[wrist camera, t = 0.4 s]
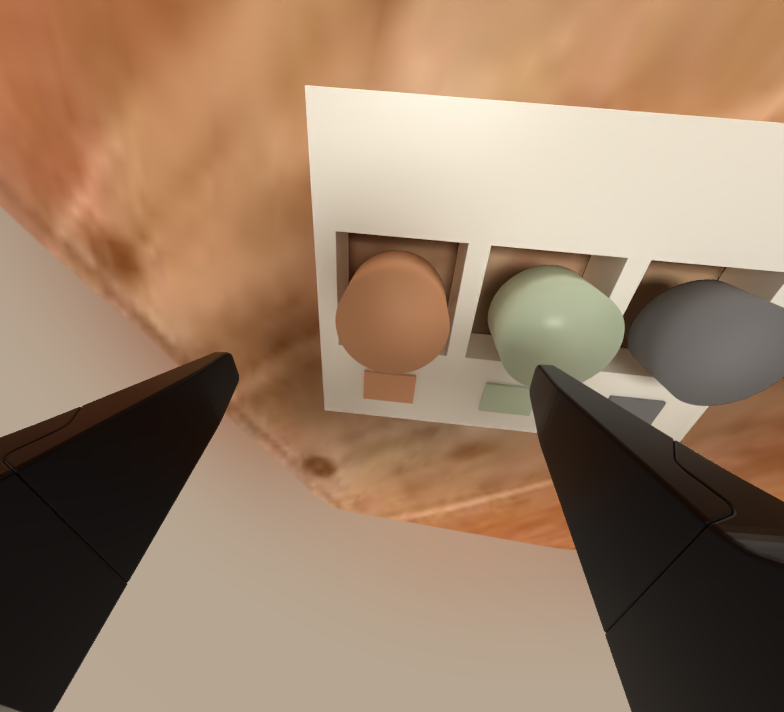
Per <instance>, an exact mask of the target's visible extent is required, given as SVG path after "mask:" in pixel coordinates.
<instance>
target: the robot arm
mask: <svg viewBox="0 0 784 712" xmlns="http://www.w3.org/2000/svg"><path fill="white" fill-rule="evenodd" d="M238 381H239V374H238V371H237V368H236V365H235V362H234V359H233V356H232V355H231V354H230V353H228V352H215V353H212V354H210V355H207V356H205V357H202V358H200V359H197V360H195V361H192V362H190V363H187V364H185V365H182V366H180V367H177V368H175V369H172V370H170V371H168V372H165V373H163V374H160V375H158V376H155V377H153V378H150V379H148V380H145V381H143V382H140V383H138V384H135V385H133V386H130V387H128V388H126V389H123V390H120V391H118V392H115V393H113V394H110V395H108V396H105V397H103V398H101V399H98V400H96V401H93V402H91V403H88V404H86V405H84V406H82V407H78V408H76V409H73V410H71V411H68V412H66V413H63V414H61V415H58V416H56V417H53V418H51V419H48V420H45V421H43V422H40V423H38V424H35V425H33V426H30V427H27V428H24V429H22V430H19V431H16V432H14V433H11V434H8V435H6V436H3V437H0V712H53V711H54V710H55V708H56V706H57V705H58V703H59V701H60V700H61V698H62V696H63V695H64V693H65V691H66V689H67V687H68V686H69V684H70V682H71V681H72V679H73V677H74V675H75V674H76V672H77V670H78V669H79V667H80V665H81V663H82V662H83V660H84V658H85V656H86V655H87V653H88V651H89V650H90V648H91V646H92V644H93V643H94V641H95V639H96V637H97V636H98V634H99V632H100V631H101V629H102V627H103V625H104V624H105V622H106V620H107V618H108V617H109V615H110V613H111V611H112V610H113V608H114V606H115V605H116V603H117V601H118V599H119V598H120V596H121V594H122V592H123V591H124V589H125V587H126V585H127V582H128V581H129V580H130V578H131V576H132V574H133V573H134V571H135V570H136V568H137V566H138V564H139V563H140V561H141V559H142V557H143V556H144V554H145V552H146V550H147V549H148V547H149V545H150V544H151V542H152V540H153V538H154V537H155V535H156V533H157V531H158V529H159V528H160V526H161V524H162V523H163V521H164V519H165V518H166V516H167V514H168V512H169V511H170V509H171V507H172V506H173V503H174V502H175V500H176V499H177V497H178V495H179V493H180V491H181V490H182V488H183V487H184V485H185V483H186V481H187V479H188V478H189V476H190V475H191V473H192V471H193V469H194V468H195V466H196V464H197V462H198V461H199V459H200V457H201V455H202V454H203V452H204V450H205V448H206V447H207V445H208V443H209V442H210V440H211V438H212V436H213V435H214V433H215V431H216V430H217V428H218V426H219V424H220V422H221V420H222V418H223V416H224V413H225V411H226V409H227V407H228V404H229V402H230V400H231V398H232V395H233V393H234V391H235V389H236V386H237V384H238ZM529 395H530V400H531V405H532V410H533V414H534V419H535V424H536V429H537V434H538V438H539V442H540V445H541V448H542V452H543V454H544V457H545V460H546V463H547V466H548V469H549V472H550V475H551V478H552V481H553V484H554V486H555V489H556V492H557V495H558V498H559V501H560V504H561V507H562V510H563V513H564V516H565V518H566V521H567V524H568V527H569V530H570V533H571V536H572V539H573V542H574V545H575V548H576V550H577V553H578V556H579V559H580V562H581V565H582V568H583V571H584V574H585V577H586V580H587V583H588V585H589V588H590V591H591V594H592V597H593V600H594V603H595V606H596V609H597V612H598V614H599V617H600V620H601V623H602V626H603V629H604V631H605V632H606V634H605V635H606V639H607V641H608V644H609V647H610V650H611V653H612V656H613V659H614V662H615V665H616V668H617V671H618V674H619V676H620V679H621V682H622V685H623V688H624V691H625V694H626V697H627V700H628V703H629V706H630V708H631V711H632V712H784V502H783V501H781V500H779V499H777V498H776V497H774V496H772V495H770V494H768V493H766V492H765V491H763V490H761V489H759V488H757V487H755V486H754V485H752V484H750V483H748V482H747V481H745V480H743V479H741V478H739V477H738V476H736V475H734V474H732V473H730V472H729V471H727V470H725V469H723V468H721V467H720V466H718V465H716V464H715V463H713V462H711V461H710V460H708V459H706V458H705V457H703V456H701V455H699V454H698V453H696V452H694V451H693V450H691V449H690V448H688V447H686V446H685V445H683V444H681V443H680V442H678V441H673V438H672V437H670V436H668V435H667V434H665V433H663V432H662V431H660V430H658V429H657V428H655V427H654V426H652V425H650V424H649V423H647V422H645V421H644V420H642V419H640V418H639V417H637V416H636V415H634V414H632V413H631V412H629V411H627V410H626V409H624V408H622V407H621V406H619V405H618V404H616V403H614V402H613V401H611V400H609V399H608V398H606V397H604V396H603V395H601V394H600V393H598V392H596V391H595V390H593V389H591V388H590V387H588V386H586V385H585V384H583V383H582V382H580V381H578V380H577V379H575V378H573V377H572V376H570V375H569V374H567V373H565V372H564V371H562V370H560V369H559V368H557V367H555V366H554V365H543V364H540V365H537V366H536V368H535V371H534V374H533V378H532V381H531V385H530V390H529Z"/></svg>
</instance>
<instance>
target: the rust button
mask: <svg viewBox="0 0 784 712" xmlns="http://www.w3.org/2000/svg"><path fill="white" fill-rule="evenodd" d="M335 323H336V330H337V335H338V337H339V340H340V342H341V344H342V346H343V347H344V349H345V350H346V351H347V353H348V354H349V355H350V356H351V357H352V358H353V359H355V360H356V361H357V362H358V363H360V364H361V365H363V366H365V367H367V368H369V369H372V370H374V371H378V372H381V373H388V374H402V373H408V372H412V371H415V370H418V369H420V368H422V367H424V366H426V365H427V364H429V363H430V362H432V361H433V360H434V359H435V358H436V357H437V356H438V355H439V353H440V352H441V351H442V349H443V348H444V346H445V344H446V341H447V339H448V335H449V329H450V320H449V314H448V308H447V302H446V296H445V290H444V285H443V282H442V280H441V278H440V276H439V274H438V272H437V271H436V270H435V268H434V267H433V266H432V265H431V264H430V263H429V262H427V261H426V260H425V259H423V258H421V257H420V256H418V255H415V254H413V253H409V252H405V251H387V252H383V253H379V254H377V255H374V256H373V257H371V258H369V259H368V260H366V261H365V262H364V263H363V264H362V265H361V266H360V267H359V268H358V270H357V271H356V272H355V274H354V276H353V278H352V280H351V281H350V283H349V285H348V287H347V289H346V291H345V292H344V294H343V296H342V298H341V300H340V302H339V304H338V307H337V311H336V319H335Z"/></svg>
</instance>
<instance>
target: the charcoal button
mask: <svg viewBox="0 0 784 712" xmlns="http://www.w3.org/2000/svg"><path fill="white" fill-rule="evenodd" d="M627 344H628V349H629V351H630V353H631V355H632V356H633V357H634V358H635V359H636V360H637V361H638V362H639V363H640V364H641V365H642V366H643V367H644V368H645V369H646V370H647V371H648V372H649V373H650V374H651V375H652V376H653V377H654V378H655V379H656V380H657V381H658V382H659V383H660V384H661V385H663V386H664V387H665V388H666V389H667V390H668V391H669V392H670V393H671V394H672V395H673V396H674V397H675V398H677V399H678V400H680V401H682V402H684V403H687V404H691V405H697V406H715V405H723V404H728V403H732V402H736V401H739V400H742V399H745V398H748V397H750V396H752V395H755V394H757V393H759V392H761V391H763V390H765V389H766V388H768V387H770V386H771V385H773V384H774V383H776V382H777V381H779V380H780V379H781V378H783V377H784V308H783V307H781V306H779V305H776V304H774V303H772V302H769V301H767V300H765V299H762V298H760V297H758V296H755V295H753V294H751V293H748V292H746V291H744V290H741V289H739V288H737V287H734V286H732V285H730V284H727V283H725V282H722V281H717V280H696V281H691V282H687V283H684V284H681V285H678V286H675V287H673V288H671V289H669V290H667V291H665V292H663V293H662V294H660V295H658V296H657V297H656V298H654V299H653V300H652V301H650V302H649V303H648V304H647V305H646V306H645V307H644V308H643V309H642V310H641V311H640V312H639V314H638V315H637V316H636V318H635V319H634V321H633V322H632V324H631V327H630V329H629V332H628V338H627Z"/></svg>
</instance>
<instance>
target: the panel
mask: <svg viewBox="0 0 784 712" xmlns="http://www.w3.org/2000/svg"><path fill="white" fill-rule="evenodd" d="M305 96H306V112H307V129H308V145H309V161H310V178H311V194H312V211H313V227H314V244H315V260H316V277H317V293H318V310H319V326H320V343H321V359H322V375H323V392H324V408H325V410H327V411H336V412H345V413H355V414H364V415H373V416H383V417H392V418H401V419H411V420H420V421H429V422H439V423H448V424H457V425H467V426H476V427H485V428H495V429H504V430H513V431H523V432H532V433H537V429H536V424H535V419H534V414H533V410H532V405H531V400H530V395H529V390H530V387H528V386H525V385H523V384H521V383H519V382H517V381H516V380H515V379H513V378H512V377H511V376H510V375H509V374H508V373H507V371H506V370H505V368H504V366H503V364H502V361H501V359H500V356H499V354H498V351H497V348H496V346H495V343H494V341H493V338H492V335H487V334H477V333H471V330H472V326H473V322H474V317H475V313H476V309H477V305H478V300H479V296H480V292H481V288H482V283H483V279H484V275H485V270H486V266H487V262H488V258H489V253H490V249H491V245H492V246H503V247H514V248H525V249H536V250H547V251H558V252H569V253H580V254H590V255H591V257H590V260H589V262H588V264H587V267H586V269H585V272H584V274H583V278H584V279H585V280H586V281H588V282H589V283H590V284H591V285H593V286H594V287H595V288H597V289H598V290H599V291H600V292H602V293H603V294H604V295H606V296H607V297H608V298H609V299H611V300H612V301H613V302H614V303H615V304H616V305H617V307H618V308H619V309H620V311H621V313H622V316H623V314H624V313H625V311H626V309H627V307H628V305H629V303H630V301H631V299H632V297H633V295H634V293H635V291H636V289H637V287H638V285H639V283H640V281H641V279H642V278H643V276H644V274H645V272H646V270H647V268H648V266H649V264H650V262H651V260H656V261H667V262H678V263H689V264H700V265H711V266H722V267H726V269H725V270H724V272H723V273H722V275H721V276H720V278H719V280H718V281H722V282H725V283H727V284H730V285H732V286H734V287H737V288H739V289H741V290H744V291H746V292H748V293H751V294H753V295H755V296H758V297H760V298H762V299H765V300H767V301H769V302H772V303H774V304H776V305H779V306H781V307H783V308H784V123H777V122H764V121H752V120H739V119H726V118H714V117H701V116H688V115H676V114H663V113H650V112H638V111H625V110H612V109H600V108H587V107H574V106H562V105H549V104H537V103H524V102H511V101H499V100H486V99H473V98H461V97H448V96H435V95H423V94H410V93H397V92H385V91H372V90H359V89H347V88H334V87H321V86H309V85H305ZM348 232H350V233H361V234H372V235H383V236H394V237H405V238H416V239H427V240H437V241H448V242H459V247H458V253H457V258H456V264H455V270H454V275H453V281H452V286H451V292H450V297H449V303H448V314H449V320H450V329H449V335H448V339H447V341H446V344H445V346H444V348H443V349H442V351H441V352H440V353H439V355H438V356H437V357H436V358H435V359H434V360H433V361H432V362H430V363H429V364H427V365H426V366H424V367H422V368H420V369H418V370H415V371H412V372H408V373H402V374H388V373H381V372H378V371H374V370H372V369H369V368H367V367H365V366H363V365H361V364H360V363H358V362H357V361H356V360H355V359H353V358H352V357H351V356H350V355H349V354H348V353H347V351H346V350H345V349H344V347H343V346H342V344H341V342H340V340H339V337H338V335H337V330H336V323H335V319H336V311H337V307H338V304H339V302H340V300H341V298H342V296H343V294H344V292H345V291H346V289H347V287H348V285H349V246H348ZM582 383H583V384H585V385H586V386H588V387H590V388H591V389H593V390H595V391H596V392H598V393H600V394H601V395H603V396H604V397H606V398H608V399H609V400H611V401H613V402H614V403H616V404H618V405H619V406H621V407H622V408H624V409H626V410H627V411H629V412H631V413H632V414H634V415H636V416H637V417H639V418H640V419H642V420H644V421H645V422H647V423H649V424H650V425H652V426H654V427H655V428H657V429H658V430H660V431H662V432H663V433H665V434H667V435H668V436H670V437H672V438H673V441H678V442H680V441H681V440H682V439H683V437H684V436H685V435H686V434H687V432H688V431H689V430H690V429H691V428H692V426H693V425H694V424H695V423H696V421H697V420H698V419H699V418H700V417H701V415H702V414H703V413H704V412H705V410H706V409H707V408H708V407H709V406H697V405H691V404H687V403H684V402H682V401H680V400H678V399H677V398H675V397H674V396H673V395H672V394H671V393H670V392H669V391H668V390H667V389H666V388H665V387H664V386H663V385H661V384H660V383H659V382H658V381H657V380H656V379H655V378H654V377H653V376H652V375H651V374H650V373H649V372H648V371H647V370H646V369H645V368H644V367H643V366H642V365H641V364H640V363H639V362H638V361H637V360H636V359H635V358H634V357H633V356H632V355H631V353H630V351H629V349H628V348H619V350H618V352H617V354H616V355H615V357H614V358H613V359H612V361H611V362H610V363H609V364H608V365H607V366H606V367H605V368H604V369H603V370H601V371H600V372H599V373H597V374H596V375H595V376H593V377H591V378H590V379H588V380H586V381H584V382H582Z"/></svg>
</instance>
